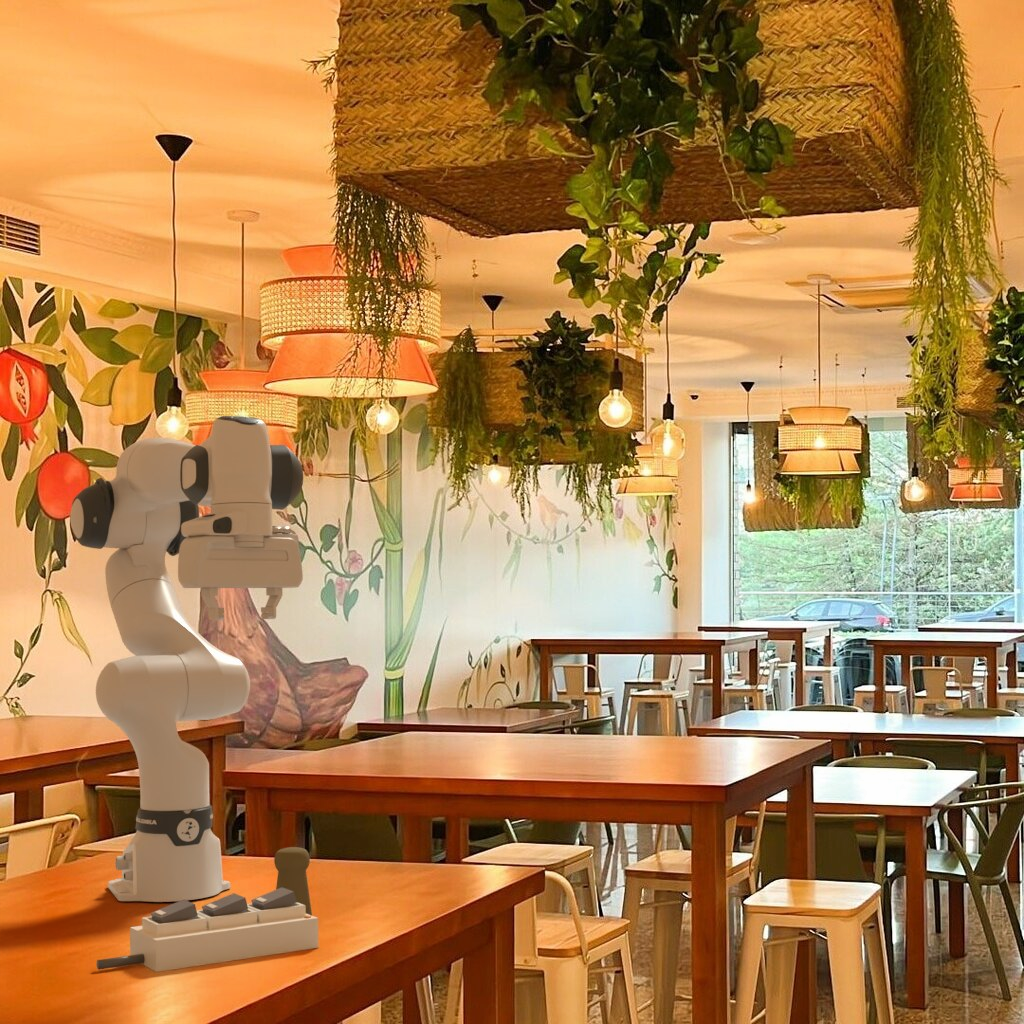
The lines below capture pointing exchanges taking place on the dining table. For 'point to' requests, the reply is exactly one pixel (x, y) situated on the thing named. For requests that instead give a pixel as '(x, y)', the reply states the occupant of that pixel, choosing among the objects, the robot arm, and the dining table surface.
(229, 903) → the rocker
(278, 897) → the rocker
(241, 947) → the switch strip
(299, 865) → the cork
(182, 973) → the dining table surface
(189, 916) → the rocker
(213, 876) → the robot arm
